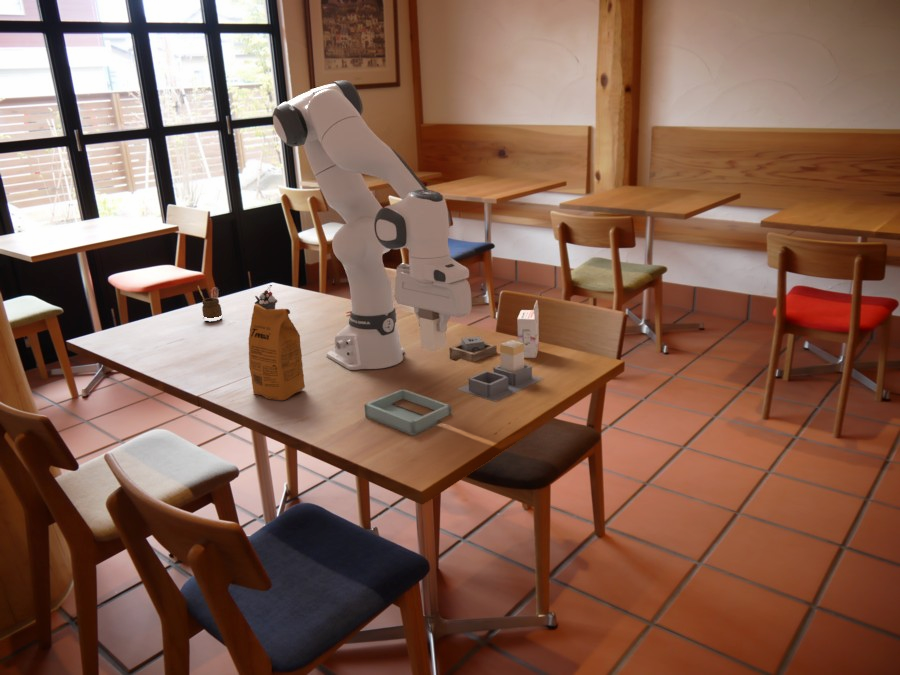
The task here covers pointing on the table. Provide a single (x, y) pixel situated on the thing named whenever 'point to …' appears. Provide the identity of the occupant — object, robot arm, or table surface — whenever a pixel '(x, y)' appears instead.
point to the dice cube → (472, 344)
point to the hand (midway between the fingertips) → (432, 329)
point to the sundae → (266, 300)
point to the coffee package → (274, 354)
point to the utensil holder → (211, 306)
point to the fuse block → (499, 382)
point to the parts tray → (406, 412)
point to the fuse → (512, 356)
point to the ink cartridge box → (529, 331)
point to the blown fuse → (431, 330)
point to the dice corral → (458, 353)
